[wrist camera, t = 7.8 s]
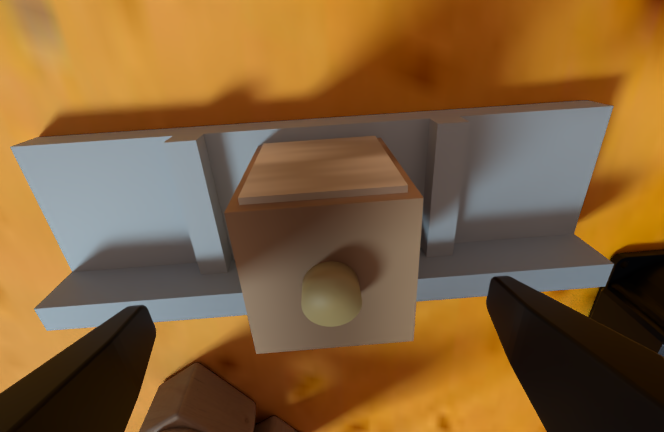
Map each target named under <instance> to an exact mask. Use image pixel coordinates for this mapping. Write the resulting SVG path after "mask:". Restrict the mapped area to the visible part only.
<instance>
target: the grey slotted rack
mask: <svg viewBox="0 0 664 432" xmlns="http://www.w3.org/2000/svg"><path fill="white" fill-rule="evenodd" d="M612 109H613V106H612V105H607V104H602V103H598V102H593V101H589V100H582V101H567V102H552V103H537V104H523V105H508V106H493V107H478V108H463V109H449V110H434V111H419V112H404V113H389V114H374V115H360V116H345V117H330V118H315V119H300V120H286V121H271V122H256V123H241V124H226V125H211V126H197V127H182V128H167V129H152V130H137V131H123V132H108V133H93V134H78V135H63V136H48V137H37V138H34V139H31V140H28V141H25V142H23V143H20V144H17V145H14V146H11V147H10V148H11V150H12V152H13V154H14V156H15V158H16V160H17V162H18V164H19V166H20V168H21V170H22V172H23V174H24V176H25V178H26V180H27V182H28V184H29V186H30V188H31V190H32V192H33V194H34V196H35V198H36V200H37V202H38V204H39V206H40V208H41V210H42V212H43V214H44V216H45V218H46V220H47V222H48V224H49V226H50V228H51V230H52V232H53V234H54V236H55V238H56V240H57V242H58V244H59V246H60V248H61V250H62V252H63V254H64V256H65V258H66V260H67V262H68V264H69V266H70V268H71V270H72V273H71V274H70V275H69V276H68V277H67V278H65V279H64V280H63V281H62V282H61V283H60V284H59V285H58V286H57V287H56V288H55V289H54V290H53V291H52V292H51V293H50V294H49V295H48V296H47V297H46V298H45V299H44V300H43V301H42V302H41V303H40V304H39V305H38V306H37V307H35V308H34V310H35V312H36V313H37V315H38V317H39V318H40V320H41V322H42V323H43V325H44V327H45V328H46V330H47V331H49V330H62V329H75V328H87V327H98V326H99V325H101V324H102V323H104V322H105V321H107V320H108V319H110V318H111V317H113V316H114V315H115V314H117V313H118V312H120V311H121V310H123V309H124V308H126V307H128V306H134V305H145V306H146V307H147V308H148V310H149V313H150V315H151V318H152V320H153V322H163V321H176V320H188V319H201V318H214V317H226V316H239V315H247V311H246V307H245V303H244V298H243V294H242V289H241V285H240V281H239V276H238V272H237V267H236V263H235V259H234V254H233V250H232V245H231V241H230V237H229V232H228V228H227V224H226V219H225V215H224V212H225V210H226V208H227V206H228V204H229V202H230V200H231V198H232V196H233V194H234V192H235V190H236V188H237V186H238V185H239V183H240V181H241V179H242V177H243V175H244V173H245V171H246V169H247V167H248V165H249V163H250V161H251V159H252V157H253V155H254V153H255V151H256V149H257V147H258V146H262V145H263V144H265V143H279V142H293V141H307V140H321V139H335V138H349V137H363V136H376V138H382V140H383V141H384V143H385V144H386V145H387V147H388V148H389V150H390V151H391V153H392V154H393V155H394V157H395V158H396V160H397V161H398V162H399V164H400V165H401V167H402V168H403V169H404V171H405V172H406V174H407V175H408V177H409V178H410V179H411V181H412V182H413V184H414V185H415V186H416V188H417V189H418V191H419V192H420V193H421V195H422V196H423V198H424V200H423V214H422V228H421V242H420V256H419V270H418V284H417V298H416V301H428V300H441V299H454V298H466V297H479V296H487V295H488V289H489V284H490V280H491V279H492V277H495V276H510V277H512V278H514V279H516V280H518V281H520V282H522V283H524V284H526V285H528V286H529V287H531V288H533V289H535V290H537V291H539V292H542V291H555V290H567V289H580V288H593V287H605V286H606V283H607V281H608V278H609V276H610V273H611V271H612V268H613V265H614V263H612V262H611V261H610V260H608V259H607V258H606V257H604V256H603V255H601V254H600V253H599V252H597V251H596V250H595V249H593V248H592V247H591V246H589V245H588V244H587V243H585V242H584V241H583V240H581V239H580V238H578V237H577V236H576V235H574V231H575V228H576V225H577V222H578V218H579V215H580V212H581V209H582V206H583V202H584V199H585V196H586V193H587V190H588V186H589V183H590V180H591V177H592V173H593V170H594V167H595V164H596V161H597V157H598V154H599V151H600V148H601V145H602V141H603V138H604V135H605V132H606V128H607V125H608V122H609V119H610V116H611V112H612Z"/></svg>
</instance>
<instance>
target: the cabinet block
mask: <svg viewBox="0 0 664 432" xmlns="http://www.w3.org/2000/svg"><path fill="white" fill-rule="evenodd" d="M423 200H424V198H423V196H422V195H421V193H420V192H419V191H418V189H417V188H416V186H415V185H414V184H413V182H412V181H411V179H410V178H409V177H408V175H407V174H406V172H405V171H404V169H403V168H402V167H401V165H400V164H399V162H398V161H397V160H396V158H395V157H394V155H393V154H392V153H391V151H390V150H389V148H388V147H387V145H386V144H385V143H384V141H383V140H382V138H376V136H363V137H349V138H335V139H321V140H307V141H293V142H279V143H265V144H263V145H262V146H258V147H257V149H256V151H255V153H254V155H253V157H252V159H251V161H250V163H249V165H248V167H247V169H246V171H245V173H244V175H243V177H242V179H241V181H240V183H239V185H238V186H237V188H236V190H235V192H234V194H233V196H232V198H231V200H230V202H229V204H228V206H227V208H226V210H225V212H224V215H225V219H226V224H227V228H228V232H229V237H230V241H231V245H232V250H233V254H234V259H235V263H236V267H237V272H238V276H239V281H240V285H241V289H242V294H243V298H244V303H245V307H246V311H247V316H248V320H249V325H250V329H251V333H252V338H253V342H254V346H255V351H256V354H262V353H274V352H286V351H298V350H310V349H322V348H334V347H346V346H358V345H370V344H382V343H394V342H406V341H413V340H414V326H415V312H416V298H417V284H418V270H419V256H420V242H421V228H422V214H423Z"/></svg>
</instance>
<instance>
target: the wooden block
mask: <svg viewBox="0 0 664 432" xmlns="http://www.w3.org/2000/svg"><path fill="white" fill-rule="evenodd" d="M255 417H256V405H255V402H254V401H252V400H251V399H250V398H248V397H247V396H245V395H244V394H242V393H241V392H240V391H238V390H237V389H235V388H234V387H233V386H231V385H230V384H228V383H227V382H225V381H224V380H223V379H221V378H220V377H218V376H217V375H215V374H214V373H213V372H211V371H210V370H208V369H207V368H206V367H204V366H203V365H201V364H200V363H194V364H192V365H191V366H189V367H188V368H186V369H184V370H183V371H181V372H180V373H178V374H177V375H175V376H173V377H172V378H170V379H169V380H167V381H166V382H164V383H163V384H161V385H160V386H159V388H158V390H157V392H156V395H155V397H154V399H153V401H152V404H151V406H150V408H149V410H148V413H147V415H146V417H145V419H144V422H143V424H142V426H141V429H140V431H139V432H298V431H296V430H295V429H293V428H292V427H291V426H289V425H288V424H286V423H285V422H283V421H282V420H281V419H279V418H278V417H275V416H272V417H270V418H268V419H266V420H264V421H263V422H261V423H259V424H257V425H255Z"/></svg>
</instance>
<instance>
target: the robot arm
mask: <svg viewBox="0 0 664 432" xmlns="http://www.w3.org/2000/svg"><path fill="white" fill-rule="evenodd" d="M611 262H612V263H614V265H613V268H612V271H611V273H610V276H609V278H608V281H607V283H606V286H605V287H600V289H599V291H598V294H597V297H596V299H595V302H594V304H593V307H592V310H591V312H590V315H589V317H587V316H585V315H583V314H581V313H579V312H577V311H575V310H573V309H572V308H570V307H568V306H566V305H564V304H562V303H560V302H558V301H556V300H554V299H552V298H551V297H549V296H547V295H545V294H543V293H541V292H539V291H537V290H535V289H533V288H531V287H529V286H528V285H526V284H524V283H522V282H520V281H518V280H516V279H514V278H512V277H510V276H495V277H492V279H491V280H490V284H489V289H488V295H487V300H486V305H487V309H488V312H489V315H490V317H491V319H492V322H493V324H494V327H495V329H496V331H497V334H498V336H499V339H500V341H501V344H502V346H503V348H504V351H505V353H506V356H507V358H508V360H509V362H510V364H511V366H512V368H513V370H514V372H515V374H516V376H517V378H518V379H519V381H520V383H521V385H522V387H523V389H524V390H525V392H526V394H527V396H528V398H529V400H530V402H531V403H532V405H533V407H534V409H535V411H536V413H537V414H538V416H539V418H540V420H541V422H542V424H543V426H544V427H545V429H546V431H547V432H664V250H655V251H642V252H629V253H620V254H617V255H615V256H614V257H613V258H612V259H611ZM155 337H156V328H155V325H154V323H153V320H152V318H151V315H150V313H149V310H148V308H147V307H146V306H145V305H134V306H128V307H126V308H124V309H123V310H121V311H120V312H118V313H117V314H115V315H114V316H113V317H111V318H110V319H108V320H107V321H105V322H104V323H102V324H101V325H99V326H98V327H97V328H95V329H94V330H92V331H91V332H89V333H88V334H86V335H85V336H83V337H82V338H80V339H79V340H78V341H76V342H75V343H73V344H72V345H70V346H69V347H67V348H66V349H64V350H63V351H62V352H60V353H59V354H57V355H56V356H54V357H53V358H51V359H50V360H48V361H47V362H45V363H44V364H43V365H41V366H40V367H38V368H37V369H35V370H34V371H32V372H31V373H29V374H28V375H27V376H25V377H24V378H22V379H21V380H19V381H18V382H16V383H15V384H13V385H12V386H10V387H9V388H8V389H6V390H5V391H3V392H2V393H0V432H124V431H125V429H126V426H127V424H128V421H129V419H130V416H131V414H132V411H133V409H134V406H135V404H136V401H137V398H138V396H139V393H140V389H141V386H142V383H143V379H144V376H145V372H146V369H147V365H148V362H149V358H150V355H151V352H152V348H153V345H154V341H155Z"/></svg>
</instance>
